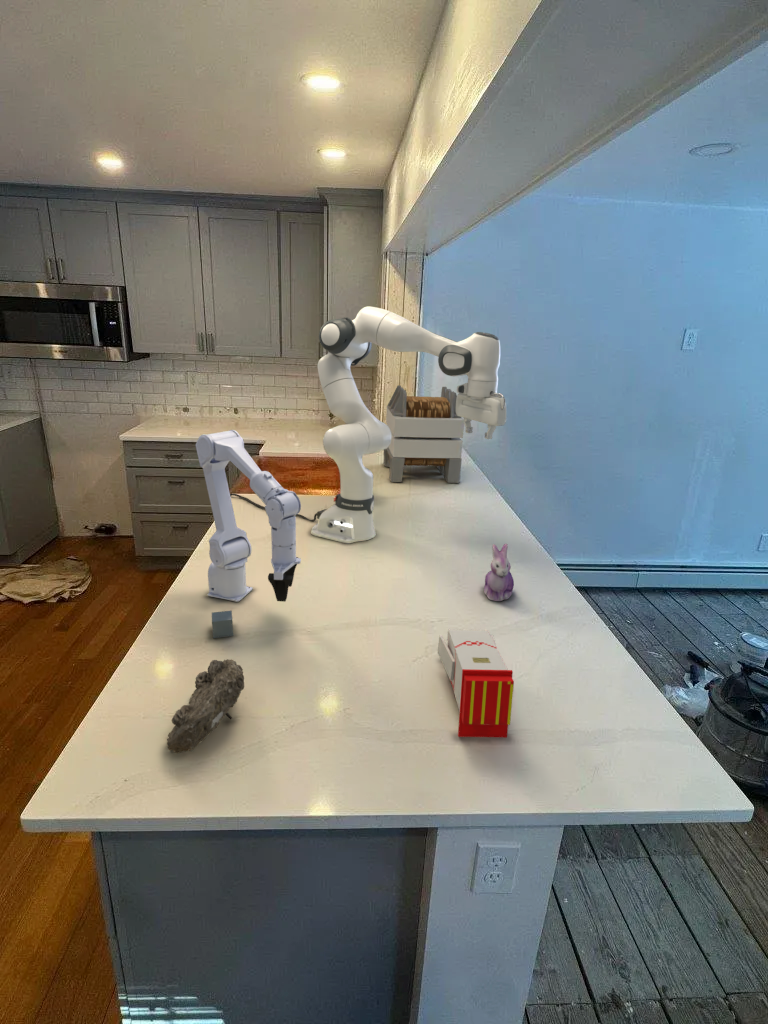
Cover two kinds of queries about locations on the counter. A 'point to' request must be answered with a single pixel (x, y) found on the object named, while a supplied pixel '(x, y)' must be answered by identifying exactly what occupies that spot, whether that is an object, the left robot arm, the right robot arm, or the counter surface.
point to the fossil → (206, 705)
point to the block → (222, 624)
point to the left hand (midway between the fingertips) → (284, 593)
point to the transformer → (424, 434)
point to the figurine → (499, 576)
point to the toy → (478, 682)
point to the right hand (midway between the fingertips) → (478, 435)
